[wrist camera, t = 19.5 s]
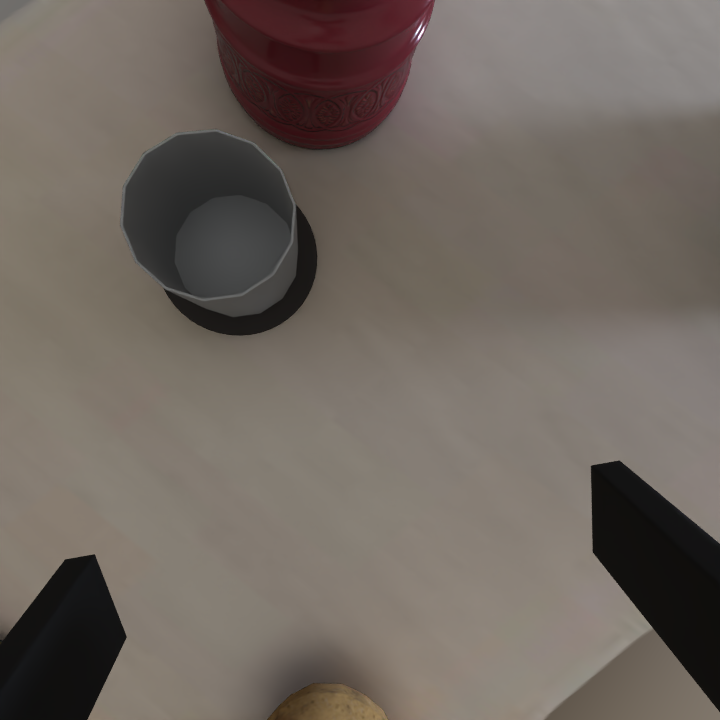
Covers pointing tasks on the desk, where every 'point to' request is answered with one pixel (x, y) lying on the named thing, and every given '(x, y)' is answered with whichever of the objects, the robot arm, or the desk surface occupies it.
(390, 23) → the kitchen canister
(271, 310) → the coaster
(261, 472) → the desk surface
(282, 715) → the potato
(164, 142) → the cup
